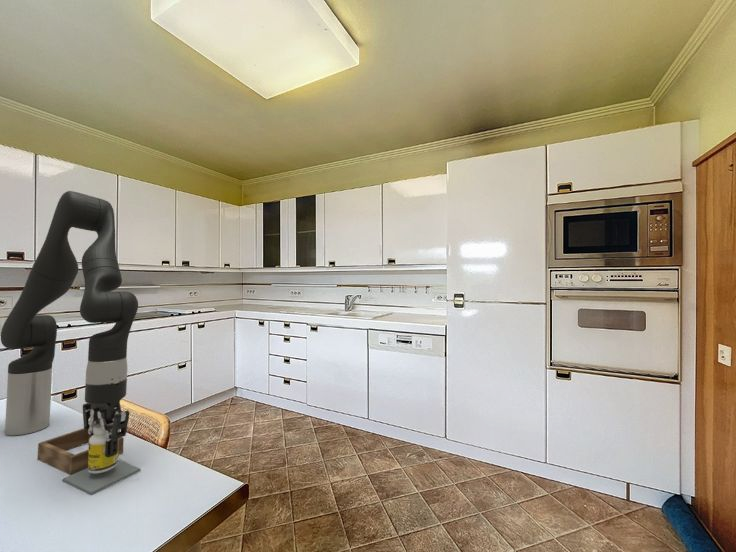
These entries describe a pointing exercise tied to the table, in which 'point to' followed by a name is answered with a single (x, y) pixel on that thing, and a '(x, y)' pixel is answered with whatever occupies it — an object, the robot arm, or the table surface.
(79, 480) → the slate mat
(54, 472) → the table surface
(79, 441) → the walnut box
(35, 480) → the table surface
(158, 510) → the table surface
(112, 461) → the supplement bottle
